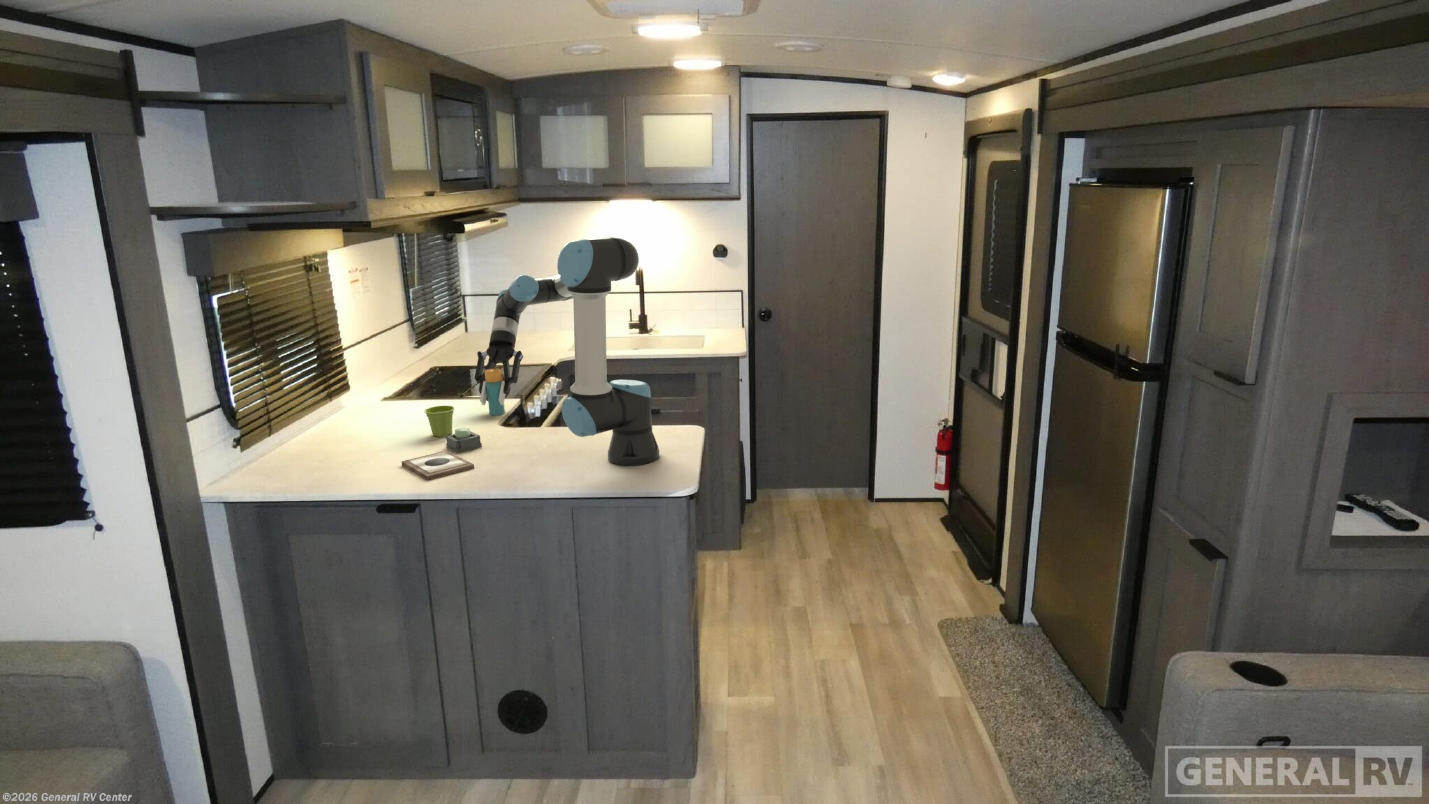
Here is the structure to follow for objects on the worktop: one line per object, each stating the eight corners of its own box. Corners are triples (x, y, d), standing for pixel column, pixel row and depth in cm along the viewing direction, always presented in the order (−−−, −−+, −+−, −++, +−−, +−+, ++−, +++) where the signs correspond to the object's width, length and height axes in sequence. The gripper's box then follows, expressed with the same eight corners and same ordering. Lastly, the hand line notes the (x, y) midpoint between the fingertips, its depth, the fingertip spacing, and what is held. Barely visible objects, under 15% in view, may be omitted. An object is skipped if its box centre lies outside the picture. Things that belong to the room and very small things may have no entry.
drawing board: (474, 468, 246) (473, 463, 246) (427, 480, 237) (426, 475, 237) (447, 454, 259) (446, 449, 259) (401, 465, 250) (401, 460, 250)
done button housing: (481, 446, 265) (480, 435, 264) (457, 452, 260) (456, 441, 259) (470, 441, 271) (469, 430, 270) (446, 447, 266) (445, 436, 265)
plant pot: (426, 440, 274) (423, 414, 272) (428, 432, 283) (425, 406, 280) (456, 437, 276) (454, 411, 274) (457, 429, 285) (454, 404, 283)
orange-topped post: (508, 413, 250) (504, 370, 247) (493, 416, 247) (489, 373, 244) (500, 410, 254) (496, 367, 250) (485, 413, 251) (481, 370, 247)
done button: (473, 438, 265) (472, 429, 264) (459, 442, 262) (458, 432, 261) (466, 436, 268) (465, 426, 267) (453, 439, 265) (452, 429, 265)
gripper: (535, 342, 260) (525, 408, 248) (478, 343, 261) (465, 409, 249) (529, 328, 253) (518, 395, 242) (471, 329, 254) (457, 396, 243)
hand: (491, 402), depth 246 cm, fingers closed on orange-topped post, 5 cm apart
